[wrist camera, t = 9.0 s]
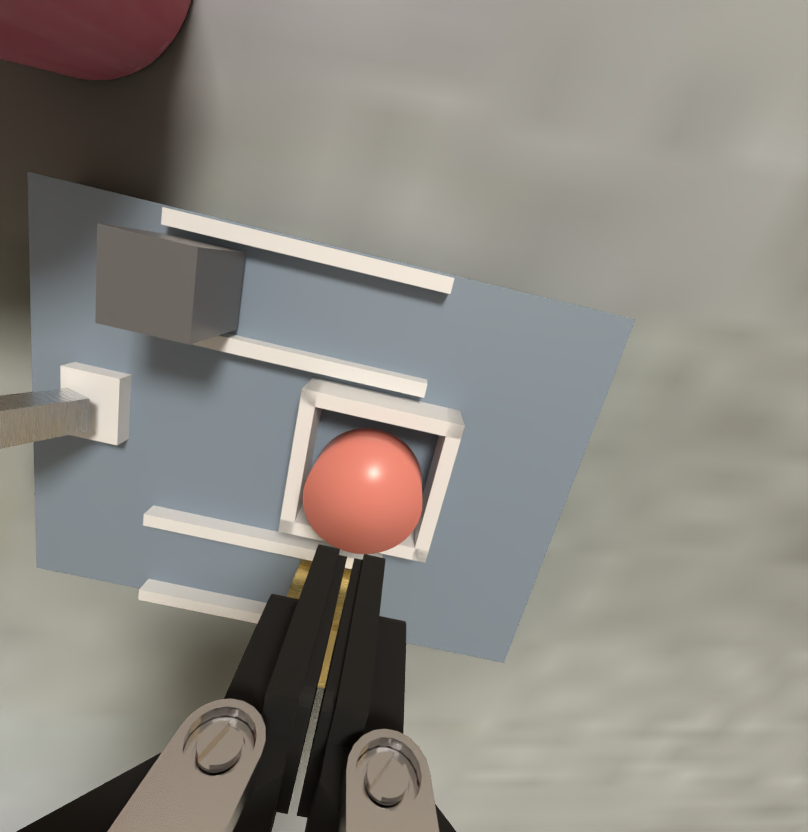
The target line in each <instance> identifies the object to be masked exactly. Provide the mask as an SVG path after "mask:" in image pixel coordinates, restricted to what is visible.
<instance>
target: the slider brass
mask: <svg viewBox="0 0 808 832" xmlns="http://www.w3.org/2000/svg"><path fill="white" fill-rule="evenodd" d="M311 563H312V561H310V560H305V559H301V561H300V564H299V566H298V569H297V571H296V574H295V576H294V579H293V581H292V584H291V586H290V589H289V591H288V594H287V597H290V598H295V599H299V597H300V594H301V592H302V589H303V586H304V583H305V580H306V578H307V575H308V572H309V569H310V566H311ZM351 570H352V569H348V568H345V569H344V574H343V578H342V582H341V587H340V591H339V596H338V600H337V605H336V609H335V614H334V618H333V622H332V627H331V631H330V636H329V640H328V645H327V649H326V653H325V658H324V662H323V666H322V670H321V674H320V679H319V683H318V687H322V688H325V684H326V680H327V675H328V670H329V666H330V661H331V657H332V652H333V648H334V643H335V639H336V635H337V630H338V626H339V622H340V617H341V613H342V609H343V604H344V600H345V596H346V591H347V587H348V583H349V578H350V574H351Z"/></svg>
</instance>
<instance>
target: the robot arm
mask: <svg viewBox="0 0 808 832" xmlns="http://www.w3.org/2000/svg"><path fill="white" fill-rule="evenodd" d="M339 553H340V549H339V548H334V547H330V546H325V545H320V544H318V547H317V549H316V552H315V555H314V558H313V561H312V563H311V566H310V569H309V572H308V575H307V578H306V580H305V583H304V586H303V589H302V592H301V594H300V597H299V599H295V598H290V597H286V596H281V595H276V594H271V596H270V597H269V599H268V601H267V603H266V606H265V608H264V610H263V612H262V615H261V617H260V619H259V621H258V624H257V626H256V628H255V630H254V633H253V635H252V637H251V639H250V642H249V644H248V646H247V648H246V651H245V653H244V655H243V657H242V660H241V662H240V664H239V666H238V669H237V671H236V673H235V676H234V678H233V680H232V682H231V685H230V687H229V689H228V691H227V694H226V696H225V698H224V699H221V700H215V701H213V702H210V703H207V704H205V705H203V706H201V707H200V708H198V709H197V710H195V711H194V712H192V713H191V714H190V715H189V716H188V717H187V719H186V720H185V721H184V722H183V723H182V724H181V725H180V727H179V728H178V730H177V731H176V733H175V734H174V736H173V737H172V738H171V740H170V741H169V743H168V744H167V746H166V747H165V749H164V750H163V752H161V753H160V754H158V755H156V756H154V757H152V758H150V759H149V760H147V761H145V762H143V763H141V764H140V765H138V766H136V767H134V768H132V769H130V770H129V771H127V772H125V773H123V774H121V775H119V776H118V777H116V778H114V779H112V780H110V781H108V782H107V783H105V784H103V785H101V786H99V787H97V788H96V789H94V790H92V791H90V792H88V793H86V794H85V795H83V796H81V797H79V798H77V799H75V800H74V801H72V802H70V803H68V804H66V805H64V806H63V807H61V808H59V809H57V810H55V811H53V812H52V813H50V814H48V815H46V816H44V817H42V818H41V819H39V820H37V821H35V822H33V823H31V824H30V825H28V826H26V827H24V828H22V829H20V830H19V831H17V832H271V831H272V827H273V823H274V820H275V816H276V812H280V813H285V814H288V810H289V805H290V801H291V797H292V793H293V788H294V784H295V780H296V776H297V772H298V767H299V763H300V759H301V755H302V750H303V746H304V742H305V738H306V734H307V729H308V725H309V721H310V717H311V712H312V708H313V704H314V700H315V696H316V691H317V687H318V683H319V679H320V674H321V670H322V666H323V662H324V658H325V653H326V649H327V645H328V640H329V636H330V631H331V627H332V622H333V618H334V614H335V609H336V605H337V600H338V596H339V591H340V587H341V582H342V578H343V574H344V569H345V565H346V560H347V556H342V555H339ZM385 560H386V559H385V558H381V557H377V556H372V555H367V554H364V556H363V560H361V559H356V558H354V561H353V566H352V570H351V574H350V578H349V583H348V587H347V591H346V596H345V600H344V604H343V609H342V613H341V617H340V622H339V626H338V630H337V635H336V639H335V643H334V648H333V652H332V657H331V661H330V666H329V670H328V675H327V680H326V684H325V689H324V693H323V698H322V702H321V707H320V711H319V716H318V721H317V725H316V730H315V734H314V739H313V743H312V748H311V752H310V757H309V762H308V766H307V771H306V775H305V780H304V784H303V789H302V794H301V798H300V803H299V807H298V812H297V816H302V817H307V823H306V828H305V832H456V831H455V829H454V828H453V827H452V825H451V824H450V823H449V821H448V820H447V819H446V818H445V816H444V815H443V814H442V812H441V811H440V810H439V808H438V807H437V806H436V804H435V801H434V794H433V788H432V782H431V775H430V771H429V767H428V764H427V760H426V758H425V756H424V755H423V753H422V751H421V750H420V748H419V746H418V745H416V744H415V743H414V742H413V741H412V740H411V739H410V738H409V737H408V736H406V735H404V734H403V724H404V692H405V660H406V621H402V620H397V619H392V618H387V617H382V616H379V615H380V606H381V597H382V588H383V579H384V570H385Z"/></svg>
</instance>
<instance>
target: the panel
mask: <svg viewBox="0 0 808 832" xmlns="http://www.w3.org/2000/svg"><path fill="white" fill-rule="evenodd" d="M27 180H28V223H29V265H30V307H31V350H32V392H35V391H44V390H53V389H61V388H70V389H72V390H74V391H76V392H78V393H80V394H82V395H84V396H85V397H87V398H89V431H85V432H80V433H75V434H70V435H65V436H60V437H55V438H50V439H45V440H40V441H35V442H34V476H35V519H36V561H37V568H41V569H46V570H51V571H56V572H61V573H66V574H71V575H76V576H81V577H86V578H91V579H95V580H100V581H105V582H110V583H115V584H120V585H125V586H130V587H135V588H140V589H139V600H143V601H148V602H153V603H158V604H163V605H168V606H173V607H177V608H182V609H187V610H192V611H197V612H202V613H207V614H212V615H217V616H222V617H227V618H232V619H237V620H242V621H247V622H251V623H256V624H258V621H259V619H260V617H261V615H262V612H263V610H264V608H265V606H266V603H267V601H268V599H269V597H270V596H271V594H276V595H281V596H286V597H287V594H288V591H289V589H290V586H291V584H292V581H293V579H294V576H295V574H296V571H297V569H298V566H299V564H300V561H301V559H305V560H310V561H313V558H314V555H315V552H316V549H317V547H318V544H320V545H325V546H330V547H334V546H332V545H330V544H329V543H327V542H326V541H325V540H323V539H322V538H321V537H320V536H319V535H318V534H317V533H316V532H315V531H314V529H313V528H312V526H311V525H310V523H309V521H308V519H307V517H306V514H305V511H304V507H303V489H304V486H305V482H306V480H307V477H308V475H309V473H310V472H311V470H312V468H313V466H314V464H315V462H316V460H317V458H318V456H319V454H320V453H321V451H322V450H323V448H324V447H325V446H326V445H327V444H328V443H329V442H330V441H331V440H332V439H334V438H335V437H336V436H338V435H340V434H342V433H344V432H347V431H350V430H354V429H360V428H373V429H379V430H382V431H386V432H388V433H391V434H393V435H395V436H396V437H398V438H400V439H401V440H402V441H403V442H405V443H406V444H407V445H408V446H409V447H410V449H411V450H412V451H413V453H414V454H415V456H416V458H417V460H418V462H419V465H420V469H421V476H422V511H421V516H420V519H419V522H418V524H417V525H416V527H415V529H414V530H413V532H412V533H411V534H410V535H409V536H408V537H407V538H406V539H405V540H404V541H403V542H402V543H400V544H399V545H397V546H395V547H393V548H391V549H389V550H386V551H383V552H379V553H374V554H367V555H372V556H377V557H381V558H385V559H386V560H385V570H384V579H383V588H382V597H381V606H380V615H379V616H382V617H387V618H392V619H397V620H402V621H406V643H409V644H414V645H419V646H424V647H429V648H434V649H439V650H444V651H449V652H453V653H458V654H463V655H468V656H473V657H478V658H483V659H488V660H493V661H498V662H502V663H504V661H505V659H506V656H507V653H508V651H509V648H510V646H511V643H512V640H513V638H514V635H515V633H516V630H517V627H518V625H519V622H520V619H521V617H522V614H523V612H524V609H525V606H526V604H527V601H528V599H529V596H530V593H531V591H532V588H533V586H534V583H535V580H536V578H537V575H538V572H539V570H540V567H541V565H542V562H543V559H544V557H545V554H546V552H547V549H548V546H549V544H550V541H551V539H552V536H553V533H554V531H555V528H556V525H557V523H558V520H559V518H560V515H561V512H562V510H563V507H564V505H565V502H566V499H567V497H568V494H569V492H570V489H571V486H572V484H573V481H574V478H575V476H576V473H577V471H578V468H579V465H580V463H581V460H582V458H583V455H584V452H585V450H586V447H587V444H588V442H589V439H590V437H591V434H592V431H593V429H594V426H595V424H596V421H597V418H598V416H599V413H600V411H601V408H602V405H603V403H604V400H605V397H606V395H607V392H608V390H609V387H610V384H611V382H612V379H613V377H614V374H615V371H616V369H617V366H618V364H619V361H620V358H621V356H622V353H623V350H624V348H625V345H626V343H627V340H628V337H629V335H630V332H631V330H632V327H633V324H634V322H635V319H631V318H627V317H623V316H619V315H615V314H611V313H607V312H602V311H598V310H594V309H590V308H586V307H582V306H578V305H574V304H570V303H565V302H561V301H557V300H553V299H549V298H545V297H541V296H537V295H533V294H529V293H524V292H520V291H516V290H512V289H508V288H504V287H500V286H496V285H492V284H488V283H483V282H479V281H475V280H471V279H467V278H463V277H459V276H455V275H451V274H447V273H442V272H438V271H434V270H430V269H426V268H422V267H418V266H414V265H410V264H405V263H401V262H397V261H393V260H389V259H385V258H381V257H377V256H373V255H369V254H364V253H360V252H356V251H352V250H348V249H344V248H340V247H336V246H332V245H328V244H323V243H319V242H315V241H311V240H307V239H303V238H299V237H295V236H291V235H286V234H282V233H278V232H274V231H270V230H266V229H262V228H258V227H254V226H250V225H245V224H241V223H237V222H233V221H229V220H225V219H221V218H217V217H213V216H209V215H204V214H200V213H196V212H192V211H188V210H184V209H180V208H176V207H172V206H168V205H163V204H159V203H155V202H151V201H147V200H143V199H139V198H135V197H131V196H126V195H122V194H118V193H114V192H110V191H106V190H102V189H98V188H94V187H90V186H85V185H81V184H77V183H73V182H69V181H65V180H61V179H57V178H53V177H49V176H44V175H40V174H36V173H32V172H28V171H27ZM97 223H100V224H107V225H113V226H120V227H126V228H133V229H139V230H146V231H152V232H159V233H165V234H170V235H174V236H179V237H183V238H187V239H191V240H195V241H199V242H203V243H208V244H212V245H216V246H220V247H224V248H228V249H233V250H237V251H241V252H245V253H246V254H245V262H244V271H243V280H242V288H241V297H240V306H239V314H238V323H237V330H234V331H231V332H227V333H224V334H221V335H218V336H215V337H212V338H209V339H206V340H203V341H200V342H197V343H193V344H190V345H189V344H184V343H180V342H176V341H171V340H167V339H163V338H158V337H154V336H150V335H145V334H141V333H137V332H132V331H128V330H124V329H119V328H115V327H110V326H106V325H102V324H97V323H95V315H96V264H97ZM334 548H336V547H334ZM339 555H342V556H347V560H346V565H345V568H348V569H352V566H353V561H354V558H356V559H361V560H363V556H364V554H356V553H350V552H347V551H343V550H341V549H340V553H339Z"/></svg>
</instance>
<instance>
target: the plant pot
mask: <svg viewBox="0 0 808 832" xmlns="http://www.w3.org/2000/svg"><path fill="white" fill-rule="evenodd" d="M190 2H191V0H0V59H2V60H6V61H11V62H15V63H19V64H23V65H27V66H31V67H35V68H39V69H43V70H47V71H51V72H55V73H59V74H62V75H66V76H70V77H74V78H79V79H86V80H111V79H116V78H119V77H124V76H127V75H130V74H132V73H135V72H137V71H139V70H141V69H143V68H145V67H146V66H148V65H149V64H151V63H152V62H153V61H154V60H155V59H156V58H158V57H159V56H160V55H161V54H162V53H163V52H164V51H165V49H166V48H167V47H168V46H169V45H170V44H171V42H172V41H173V40H174V38H175V36H176V35H177V33H178V32H179V30H180V28H181V26H182V24H183V21H184V19H185V17H186V14H187V11H188V9H189V6H190Z"/></svg>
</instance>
